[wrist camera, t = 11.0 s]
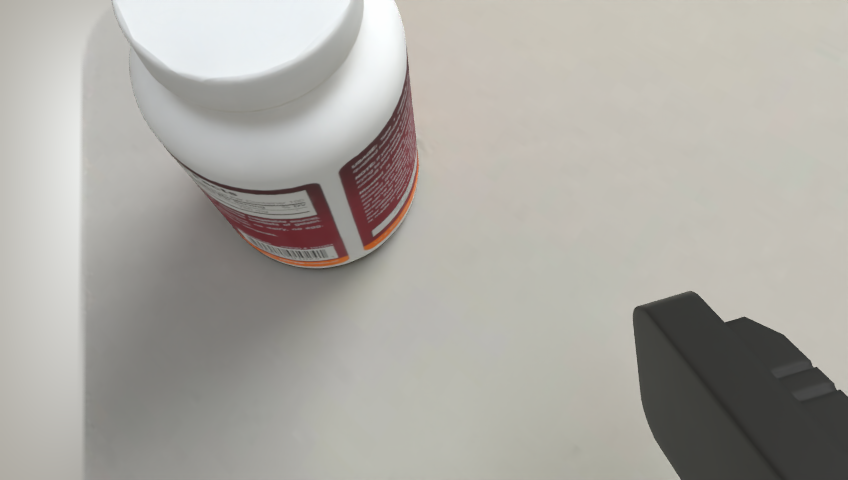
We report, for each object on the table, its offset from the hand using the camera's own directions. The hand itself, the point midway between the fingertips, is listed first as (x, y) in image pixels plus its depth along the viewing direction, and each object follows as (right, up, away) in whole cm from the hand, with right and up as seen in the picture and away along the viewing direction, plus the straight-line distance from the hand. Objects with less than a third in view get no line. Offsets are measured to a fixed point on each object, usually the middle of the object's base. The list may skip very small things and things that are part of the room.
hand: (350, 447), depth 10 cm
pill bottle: (-2, +5, +15) cm, 16 cm away
